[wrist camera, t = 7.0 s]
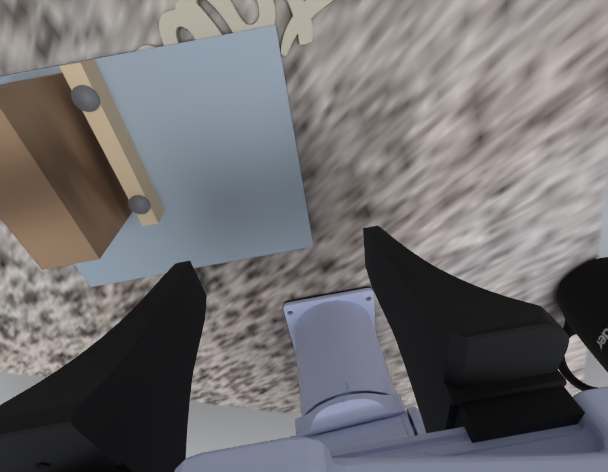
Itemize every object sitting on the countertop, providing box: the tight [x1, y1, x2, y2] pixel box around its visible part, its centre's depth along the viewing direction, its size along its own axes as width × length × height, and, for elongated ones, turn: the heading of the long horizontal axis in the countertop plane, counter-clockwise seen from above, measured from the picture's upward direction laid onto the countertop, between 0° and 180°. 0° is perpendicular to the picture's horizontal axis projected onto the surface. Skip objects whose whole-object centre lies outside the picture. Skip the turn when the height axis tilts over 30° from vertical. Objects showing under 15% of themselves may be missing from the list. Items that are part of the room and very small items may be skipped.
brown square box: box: [0, 73, 133, 270], centre depth 16 cm, size 8×3×6 cm, turn 9°
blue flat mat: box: [0, 25, 313, 287], centre depth 20 cm, size 14×17×3 cm
